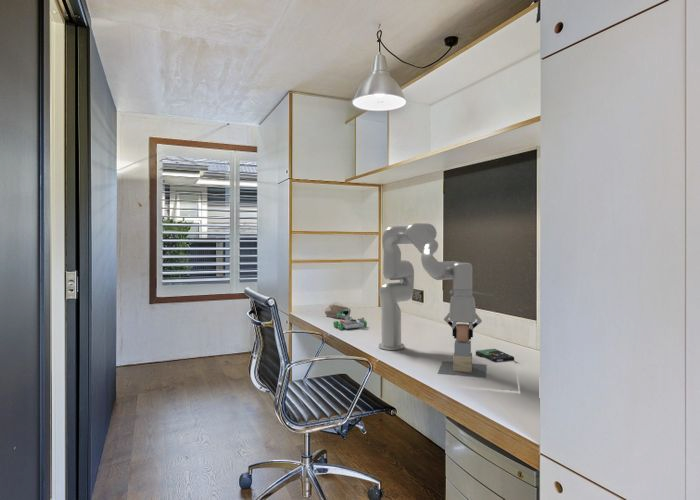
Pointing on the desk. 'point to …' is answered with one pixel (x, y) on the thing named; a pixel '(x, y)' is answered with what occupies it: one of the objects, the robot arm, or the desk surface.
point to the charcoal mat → (477, 371)
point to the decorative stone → (336, 310)
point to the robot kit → (349, 321)
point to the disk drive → (494, 355)
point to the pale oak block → (462, 363)
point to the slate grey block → (462, 348)
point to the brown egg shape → (462, 332)
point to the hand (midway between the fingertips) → (462, 337)
